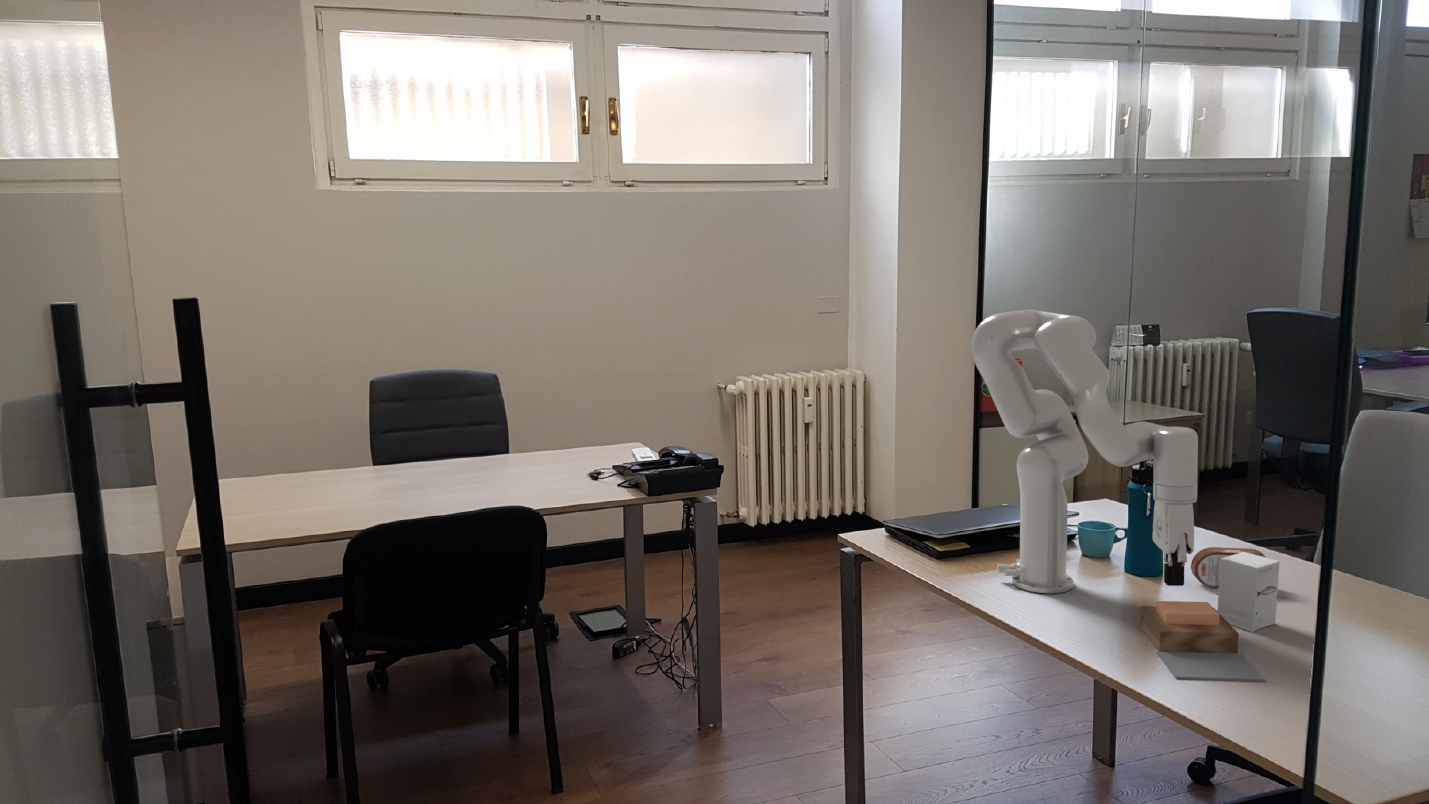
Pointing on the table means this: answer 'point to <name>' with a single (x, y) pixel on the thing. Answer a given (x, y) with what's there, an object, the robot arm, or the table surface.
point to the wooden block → (1188, 634)
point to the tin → (1214, 563)
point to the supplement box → (1248, 590)
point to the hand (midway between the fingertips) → (1173, 584)
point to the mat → (1210, 666)
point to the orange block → (1187, 613)
